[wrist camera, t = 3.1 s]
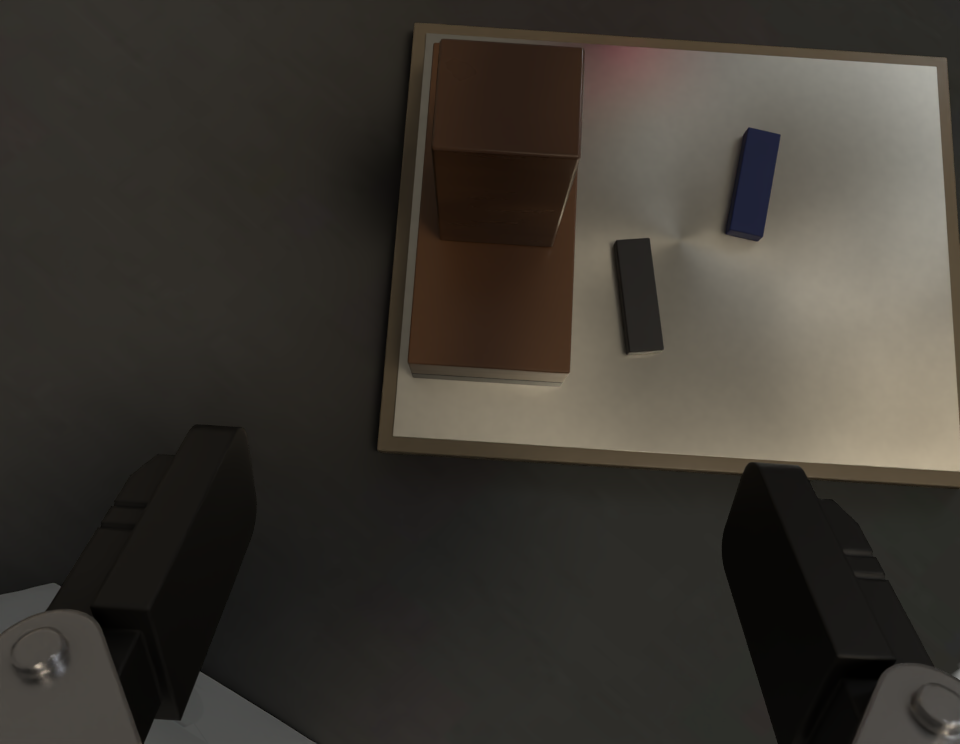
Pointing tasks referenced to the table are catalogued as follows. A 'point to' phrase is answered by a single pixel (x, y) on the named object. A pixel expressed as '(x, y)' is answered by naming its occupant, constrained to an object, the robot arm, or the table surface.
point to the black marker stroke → (638, 296)
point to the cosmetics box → (211, 707)
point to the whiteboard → (727, 271)
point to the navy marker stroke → (753, 184)
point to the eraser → (498, 214)
